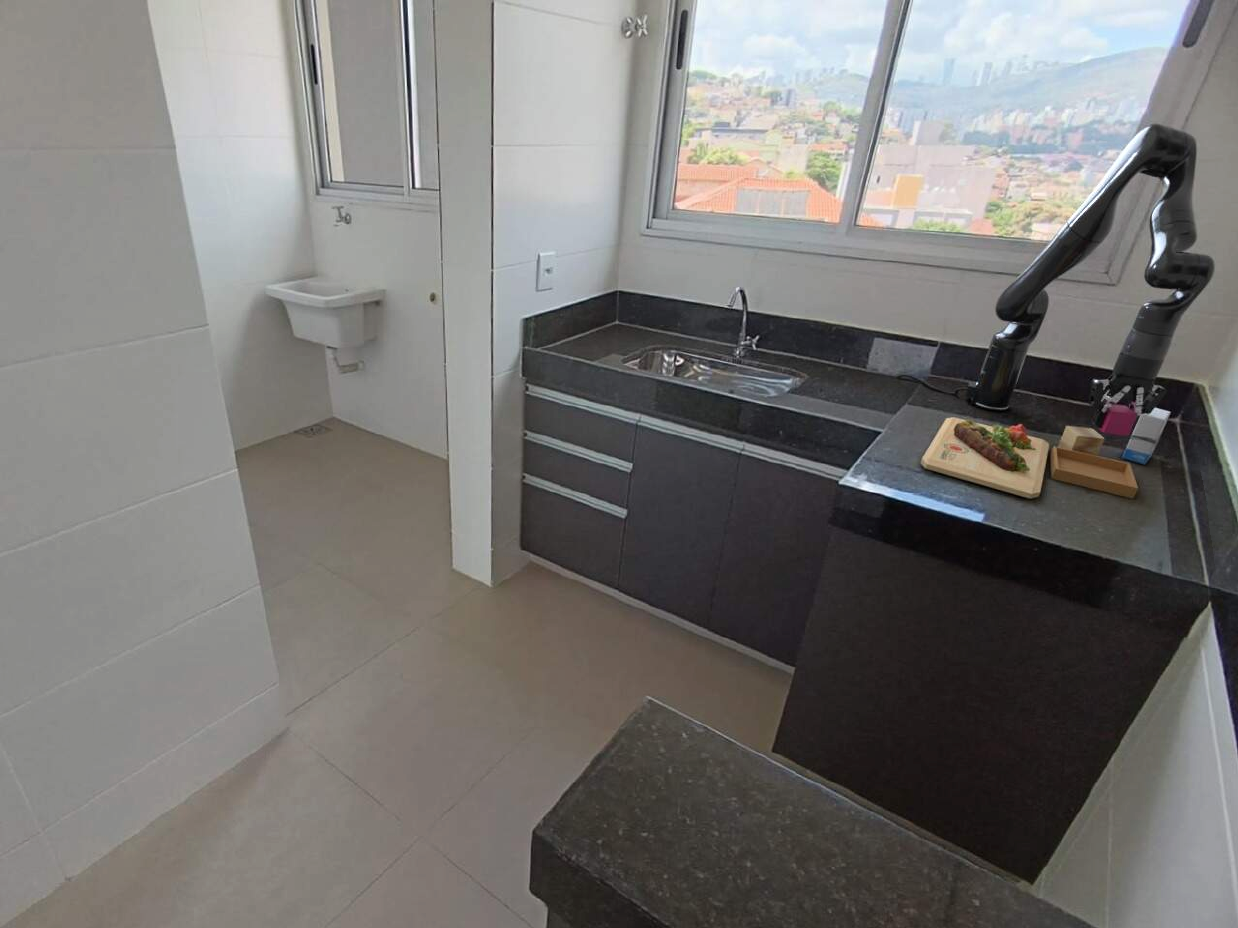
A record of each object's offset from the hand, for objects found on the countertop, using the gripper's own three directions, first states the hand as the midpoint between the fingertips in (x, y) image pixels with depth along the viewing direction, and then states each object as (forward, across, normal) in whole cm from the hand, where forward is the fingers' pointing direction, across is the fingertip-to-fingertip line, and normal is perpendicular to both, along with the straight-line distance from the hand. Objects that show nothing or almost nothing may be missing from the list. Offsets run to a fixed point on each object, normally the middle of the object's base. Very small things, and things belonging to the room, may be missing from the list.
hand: (1110, 428), depth 143 cm
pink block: (0, 0, 0) cm, 0 cm away
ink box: (+12, -17, -15) cm, 26 cm away
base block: (+12, -2, -12) cm, 17 cm away
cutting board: (+12, +21, -4) cm, 25 cm away
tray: (+12, 0, 0) cm, 12 cm away
